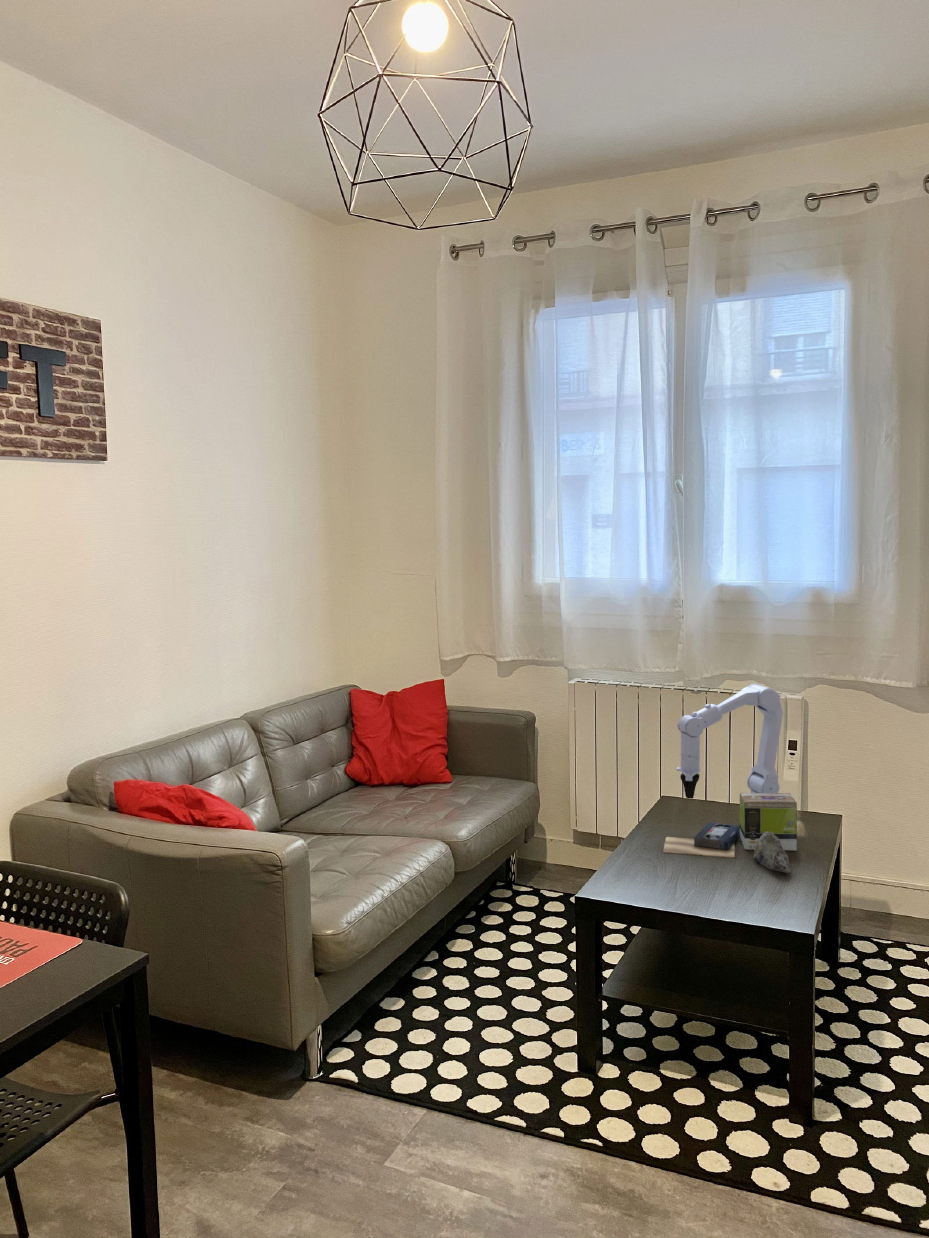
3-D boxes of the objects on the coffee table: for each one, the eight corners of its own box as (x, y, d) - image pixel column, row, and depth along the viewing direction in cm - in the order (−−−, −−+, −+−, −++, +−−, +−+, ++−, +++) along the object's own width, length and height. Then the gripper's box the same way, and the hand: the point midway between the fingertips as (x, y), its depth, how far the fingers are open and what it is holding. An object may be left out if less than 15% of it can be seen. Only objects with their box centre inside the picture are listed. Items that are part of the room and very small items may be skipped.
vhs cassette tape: (709, 821, 304) (742, 825, 299) (709, 830, 304) (742, 835, 299) (693, 835, 287) (727, 840, 283) (693, 845, 288) (727, 850, 283)
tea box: (790, 840, 293) (791, 792, 291) (797, 851, 283) (798, 802, 281) (738, 839, 295) (739, 791, 293) (743, 850, 285) (744, 800, 283)
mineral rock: (789, 879, 262) (790, 843, 261) (748, 874, 266) (748, 838, 265) (794, 863, 274) (794, 828, 272) (754, 858, 278) (755, 824, 277)
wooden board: (666, 837, 297) (666, 836, 296) (734, 842, 291) (734, 841, 291) (663, 852, 284) (663, 851, 284) (734, 858, 278) (734, 857, 278)
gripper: (678, 748, 308) (677, 790, 310) (675, 759, 295) (675, 803, 296) (701, 749, 307) (700, 791, 308) (699, 760, 293) (699, 805, 294)
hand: (689, 797), depth 302 cm, fingers closed
